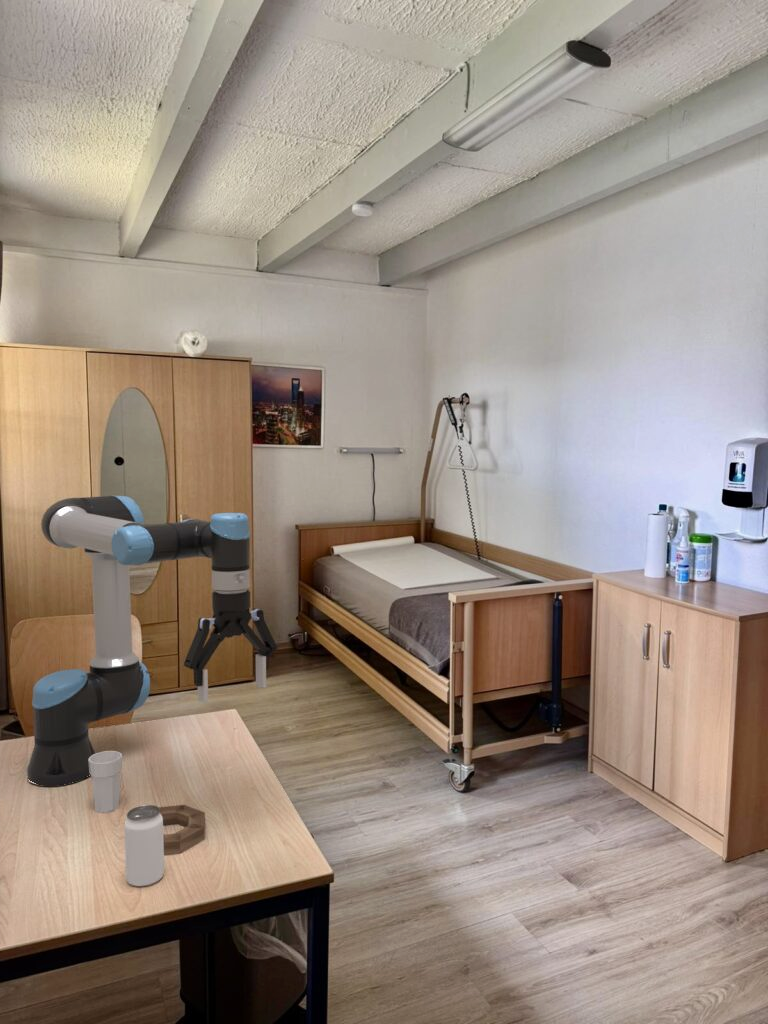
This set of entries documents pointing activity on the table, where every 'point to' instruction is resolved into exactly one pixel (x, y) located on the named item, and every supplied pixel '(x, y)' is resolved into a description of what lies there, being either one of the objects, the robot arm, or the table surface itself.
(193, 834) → the brown octagonal frame
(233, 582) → the robot arm
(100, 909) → the table surface
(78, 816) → the table surface
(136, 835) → the can
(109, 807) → the cup
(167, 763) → the table surface
